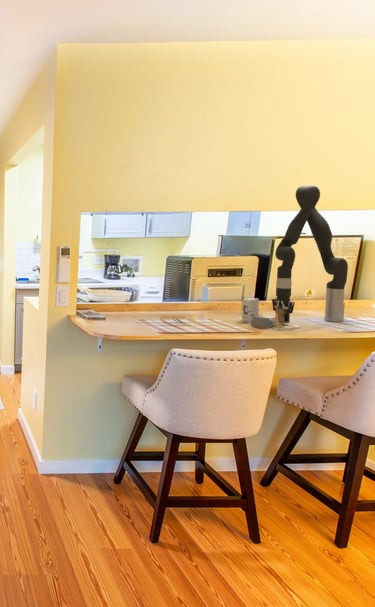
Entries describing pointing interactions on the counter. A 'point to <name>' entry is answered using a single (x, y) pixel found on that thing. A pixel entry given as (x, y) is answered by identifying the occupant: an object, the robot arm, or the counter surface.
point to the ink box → (249, 309)
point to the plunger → (274, 322)
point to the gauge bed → (264, 324)
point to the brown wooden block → (281, 315)
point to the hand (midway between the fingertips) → (282, 320)
